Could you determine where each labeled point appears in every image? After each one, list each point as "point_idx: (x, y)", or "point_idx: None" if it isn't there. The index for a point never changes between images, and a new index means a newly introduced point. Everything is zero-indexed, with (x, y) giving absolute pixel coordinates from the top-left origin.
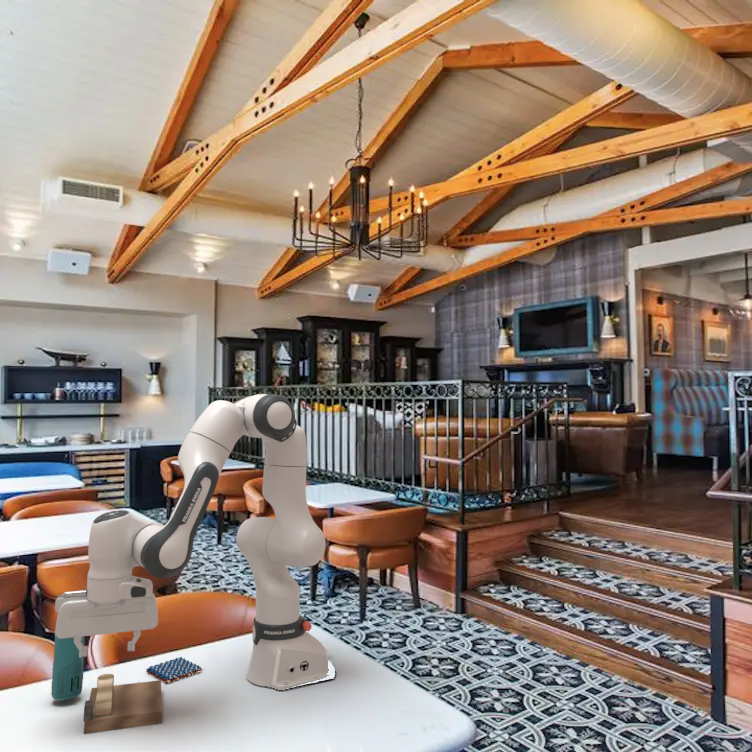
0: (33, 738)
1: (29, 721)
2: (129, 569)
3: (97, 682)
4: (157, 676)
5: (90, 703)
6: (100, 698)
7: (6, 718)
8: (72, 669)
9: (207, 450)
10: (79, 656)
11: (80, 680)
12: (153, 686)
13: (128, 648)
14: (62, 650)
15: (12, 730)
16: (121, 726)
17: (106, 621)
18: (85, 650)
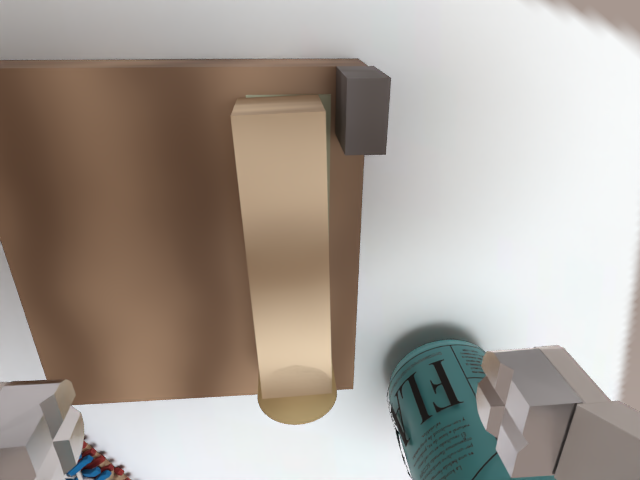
0: (562, 83)
1: (564, 238)
2: None
3: (333, 372)
4: (107, 468)
5: (356, 109)
6: (302, 143)
7: (634, 280)
8: (470, 439)
9: None
10: (560, 347)
11: (408, 411)
12: (77, 356)
13: (36, 402)
14: None
15: (628, 180)
16: (184, 61)
17: None
18: (533, 394)
